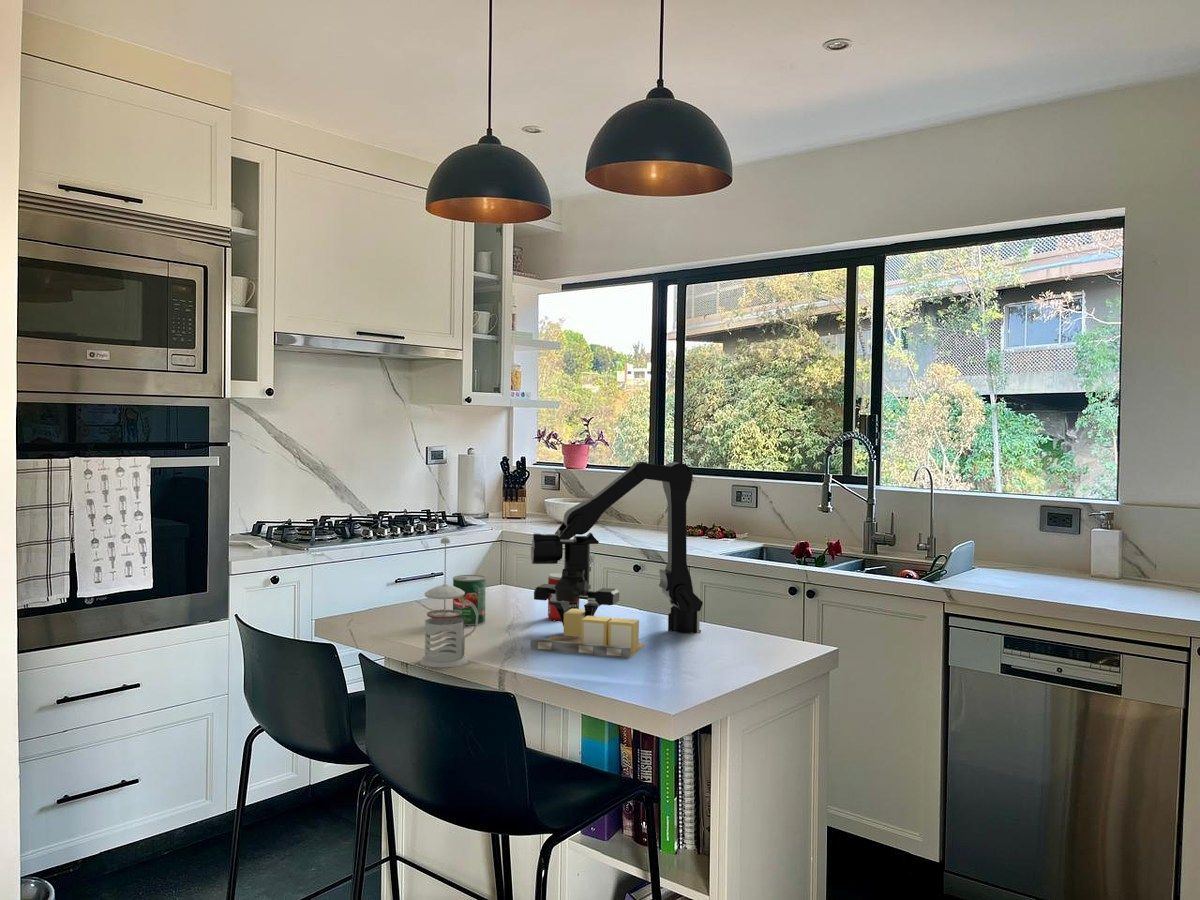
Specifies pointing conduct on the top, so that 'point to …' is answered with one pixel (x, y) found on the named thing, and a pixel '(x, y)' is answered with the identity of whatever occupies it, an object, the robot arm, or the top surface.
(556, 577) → the canned food
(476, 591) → the canned tomato
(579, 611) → the tea box turned
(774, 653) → the top surface
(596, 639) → the tea box
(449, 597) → the french press
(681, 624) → the robot arm
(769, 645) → the top surface
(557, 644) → the shelf board
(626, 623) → the tea box
